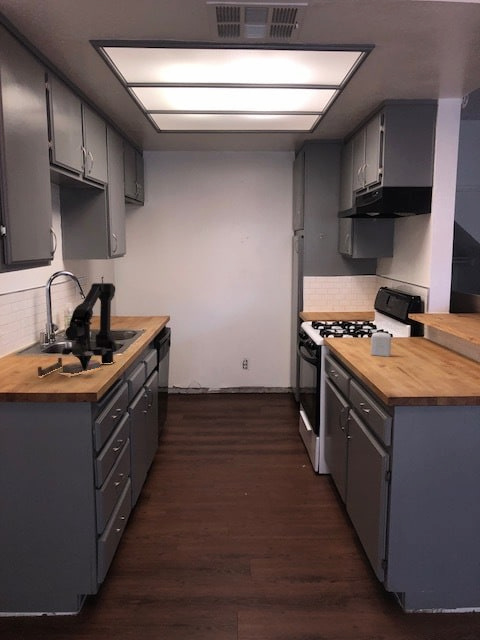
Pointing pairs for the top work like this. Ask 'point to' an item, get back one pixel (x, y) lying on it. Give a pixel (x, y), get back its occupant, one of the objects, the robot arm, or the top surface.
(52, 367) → the stop board
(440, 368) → the top surface
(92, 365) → the packaged product
